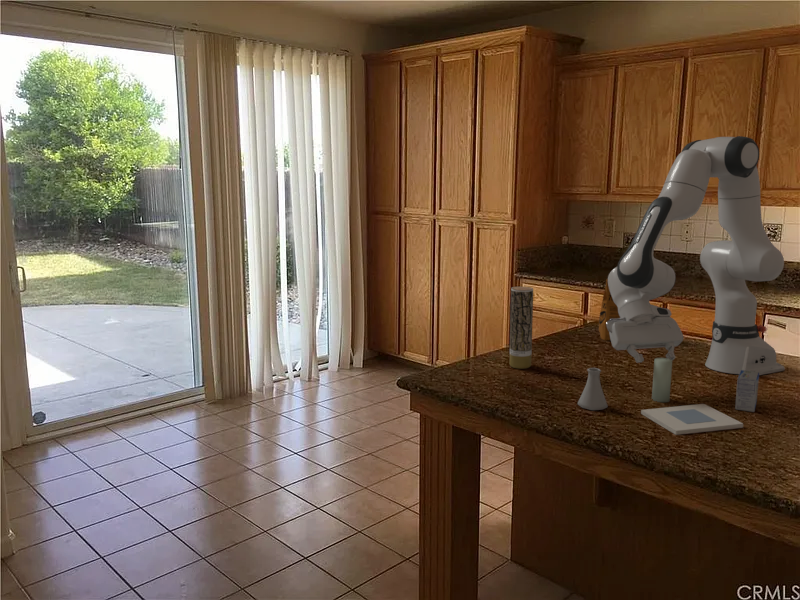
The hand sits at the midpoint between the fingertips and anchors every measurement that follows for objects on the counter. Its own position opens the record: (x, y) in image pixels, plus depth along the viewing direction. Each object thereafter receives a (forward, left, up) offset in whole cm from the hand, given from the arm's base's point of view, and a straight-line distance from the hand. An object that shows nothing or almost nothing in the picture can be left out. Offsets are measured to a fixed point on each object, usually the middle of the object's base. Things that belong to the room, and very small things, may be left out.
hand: (656, 360), depth 174 cm
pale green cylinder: (0, +3, -10) cm, 10 cm away
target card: (+2, +18, -10) cm, 20 cm away
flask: (+20, +3, -10) cm, 23 cm away
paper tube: (+24, -35, -10) cm, 44 cm away
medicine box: (-18, +13, -10) cm, 25 cm away
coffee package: (-24, -59, -10) cm, 65 cm away
